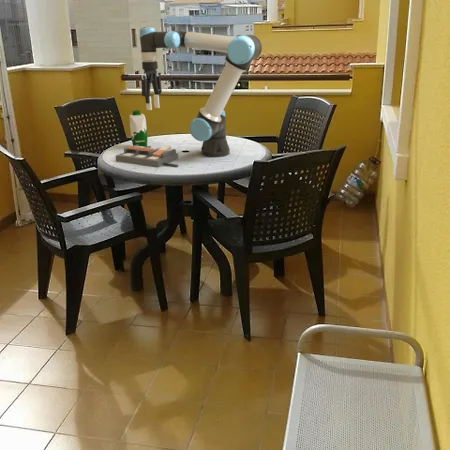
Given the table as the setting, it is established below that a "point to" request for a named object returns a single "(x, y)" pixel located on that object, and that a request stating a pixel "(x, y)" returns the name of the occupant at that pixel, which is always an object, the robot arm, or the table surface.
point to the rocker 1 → (135, 147)
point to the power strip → (147, 157)
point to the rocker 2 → (161, 151)
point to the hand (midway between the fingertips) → (153, 108)
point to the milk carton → (138, 129)
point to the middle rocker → (148, 149)
